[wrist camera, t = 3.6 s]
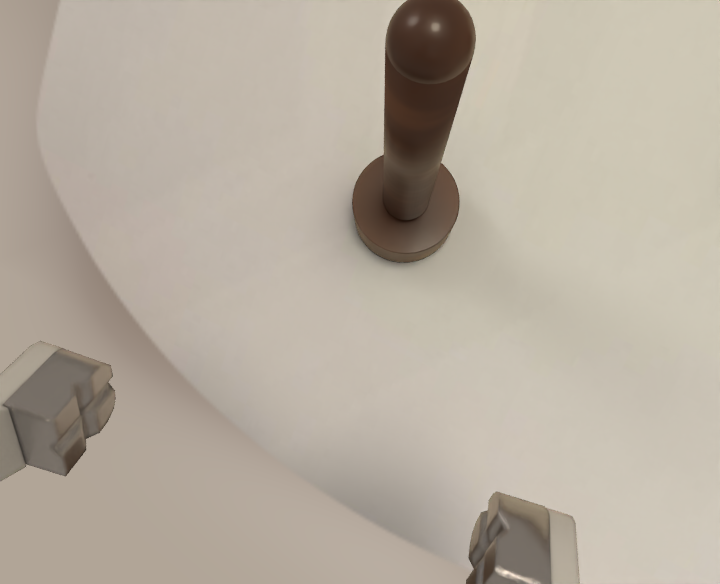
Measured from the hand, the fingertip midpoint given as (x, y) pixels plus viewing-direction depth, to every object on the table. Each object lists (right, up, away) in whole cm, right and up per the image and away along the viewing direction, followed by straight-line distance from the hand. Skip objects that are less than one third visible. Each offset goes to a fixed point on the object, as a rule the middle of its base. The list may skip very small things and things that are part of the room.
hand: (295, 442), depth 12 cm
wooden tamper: (+4, +7, +18) cm, 20 cm away
